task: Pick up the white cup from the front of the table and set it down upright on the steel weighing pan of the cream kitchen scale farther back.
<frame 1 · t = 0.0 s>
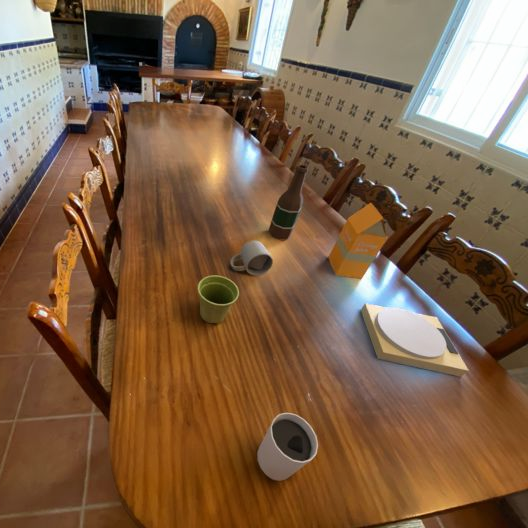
beer bottle: (279, 234, 103), on the table
scale: (405, 340, 70), on the table
ceramic mug: (248, 268, 88), on the table
plant pot: (212, 315, 73), on the table
orange juice: (343, 268, 91), on the table
white cup: (274, 460, 49), on the table
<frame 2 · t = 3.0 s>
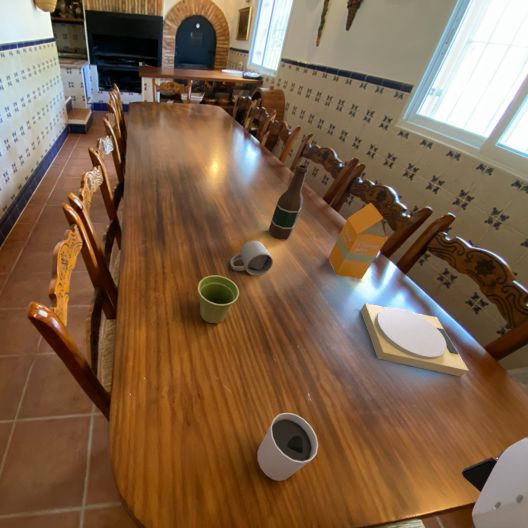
hand: (460, 522, 27), 21 cm above the table, tool pointing down, fingers open, 9 cm apart
nothing on the table moved.
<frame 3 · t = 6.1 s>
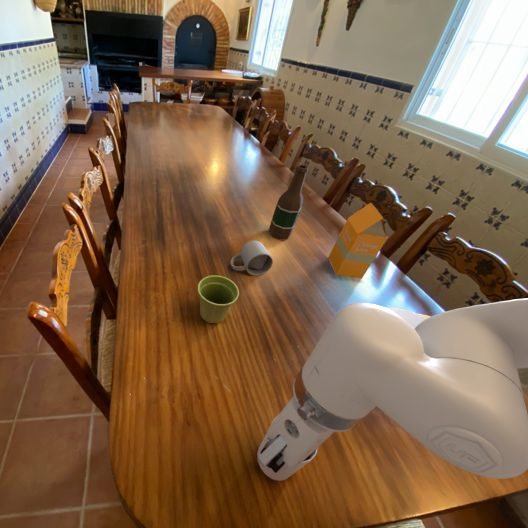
hand: (283, 449, 46), 5 cm above the table, tool pointing down, fingers closed on white cup, 5 cm apart
white cup: (274, 460, 49), on the table, touching gripper
everything else where it was.
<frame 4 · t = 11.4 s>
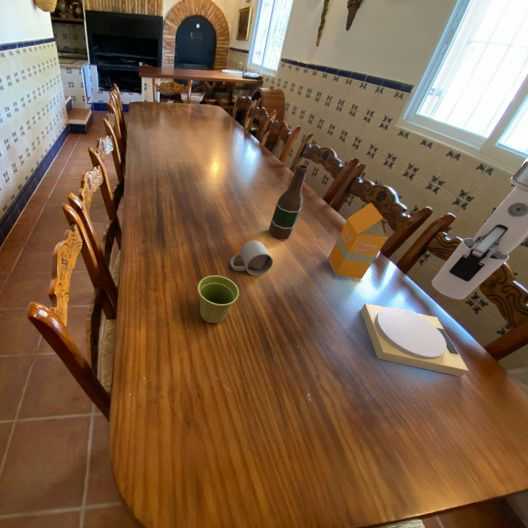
hand: (465, 270, 55), 23 cm above the table, tool pointing down, fingers closed on white cup, 5 cm apart
white cup: (447, 289, 59), point 17 cm above the table, touching gripper
everything else where it was.
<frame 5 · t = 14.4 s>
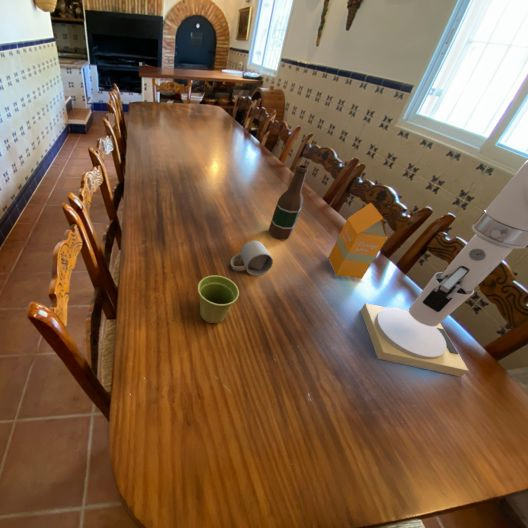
hand: (438, 301, 62), 13 cm above the table, tool pointing down, fingers closed on white cup, 5 cm apart
white cup: (422, 316, 65), point 8 cm above the table, touching gripper
everything else where it was.
when the fingers open (8 cm above the table, at t = 16.7 s): white cup stays where it is, resting on scale.
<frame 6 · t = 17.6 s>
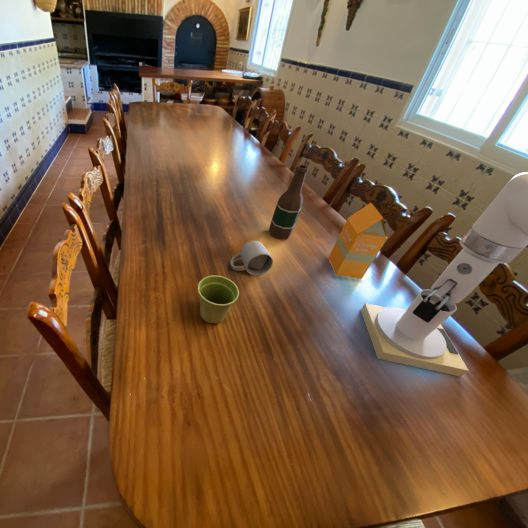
hand: (431, 308, 64), 11 cm above the table, tool pointing down, fingers open, 9 cm apart
white cup: (410, 330, 68), point 3 cm above the table, touching scale
everything else where it was.
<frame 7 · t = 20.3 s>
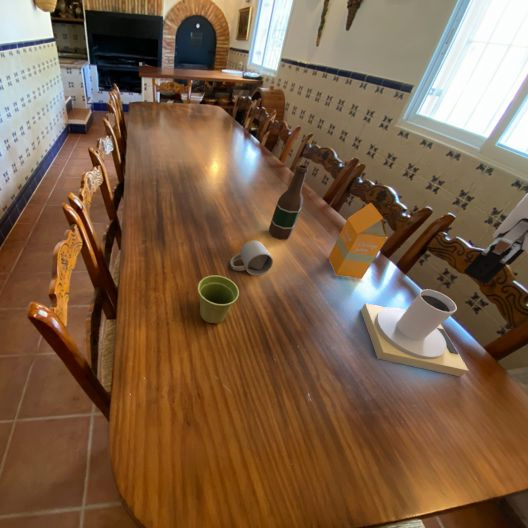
hand: (487, 268, 49), 27 cm above the table, tool pointing down, fingers open, 9 cm apart
nothing on the table moved.
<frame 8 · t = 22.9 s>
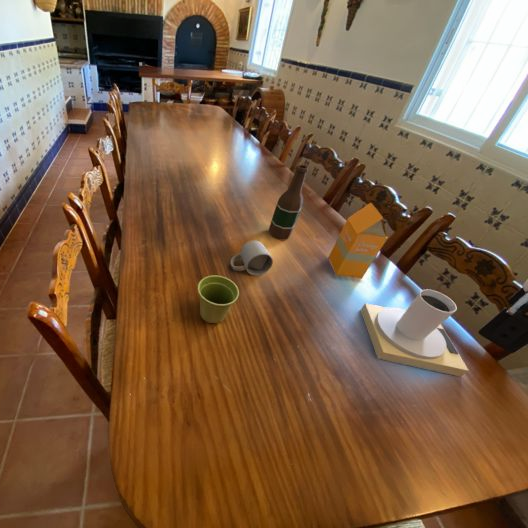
hand: (509, 324, 35), 30 cm above the table, tool pointing down, fingers open, 9 cm apart
nothing on the table moved.
at the end: white cup inside the target area on the scale (0.2 cm from its centre), point 3.3 cm above the scale's base; white cup tilted 0°; white cup touching scale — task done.
